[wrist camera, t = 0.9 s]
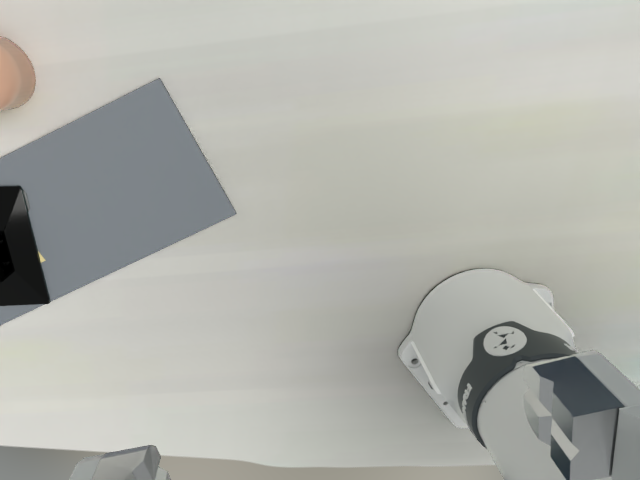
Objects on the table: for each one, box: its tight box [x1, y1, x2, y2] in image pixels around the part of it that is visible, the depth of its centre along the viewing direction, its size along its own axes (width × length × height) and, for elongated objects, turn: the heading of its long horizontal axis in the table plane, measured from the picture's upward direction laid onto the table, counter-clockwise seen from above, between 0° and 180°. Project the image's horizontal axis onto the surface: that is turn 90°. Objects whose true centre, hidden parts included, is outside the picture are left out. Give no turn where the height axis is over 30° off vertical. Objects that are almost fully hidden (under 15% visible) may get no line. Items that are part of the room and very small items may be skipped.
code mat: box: [0, 78, 236, 325], centre depth 44 cm, size 14×29×1 cm, turn 114°
